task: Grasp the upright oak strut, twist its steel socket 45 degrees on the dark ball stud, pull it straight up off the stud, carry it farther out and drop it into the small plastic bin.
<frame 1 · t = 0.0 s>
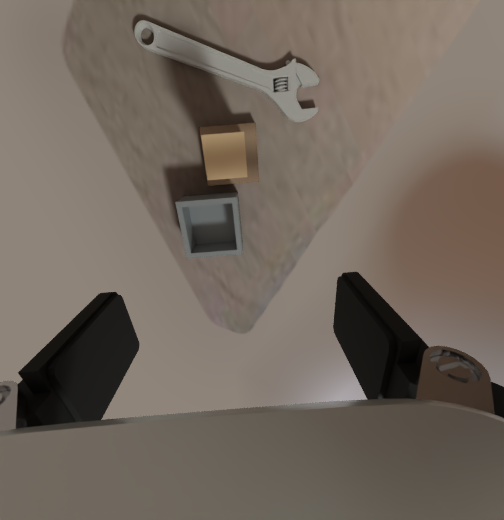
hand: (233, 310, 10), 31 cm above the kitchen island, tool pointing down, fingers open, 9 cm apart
adjustable wrench: (236, 66, 32), on the kitchen island
stud plate: (231, 155, 36), on the kitchen island
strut: (230, 155, 35), point 1 cm above the kitchen island, touching stud plate
bin: (214, 220, 40), on the kitchen island
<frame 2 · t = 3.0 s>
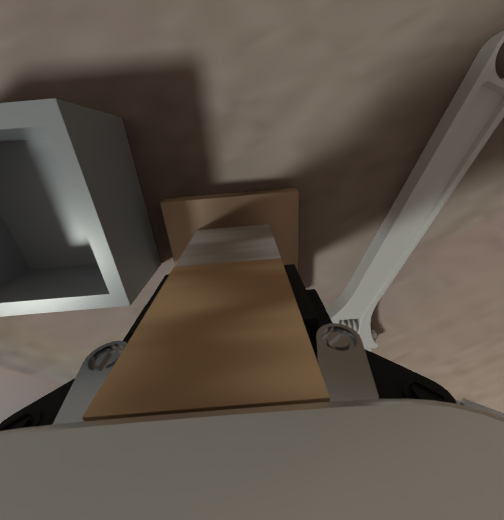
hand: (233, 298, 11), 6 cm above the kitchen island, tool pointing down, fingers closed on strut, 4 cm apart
adjustable wrench: (385, 251, 17), on the kitchen island
stud plate: (237, 251, 16), on the kitchen island
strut: (236, 259, 15), point 2 cm above the kitchen island, touching gripper, stud plate
bin: (73, 206, 15), on the kitchen island
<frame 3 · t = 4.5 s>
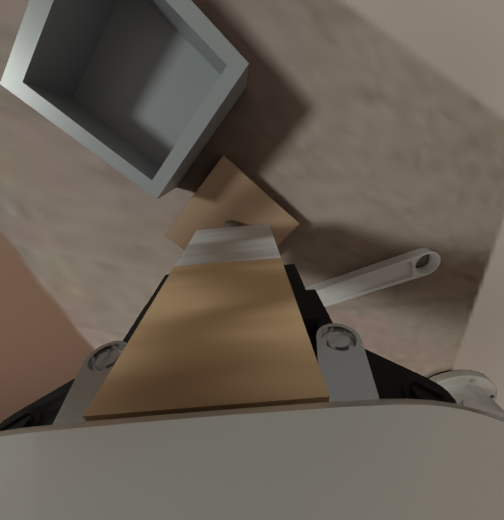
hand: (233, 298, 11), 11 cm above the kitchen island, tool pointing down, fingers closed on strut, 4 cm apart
adjustable wrench: (308, 297, 25), on the kitchen island
stud plate: (232, 224, 21), on the kitchen island
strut: (236, 259, 15), point 7 cm above the kitchen island, touching gripper
bin: (156, 94, 16), on the kitchen island
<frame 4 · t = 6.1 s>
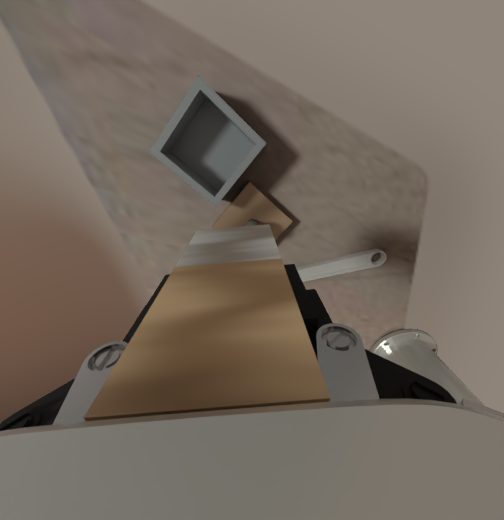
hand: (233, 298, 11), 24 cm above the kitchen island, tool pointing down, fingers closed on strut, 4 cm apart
adjustable wrench: (302, 274, 38), on the kitchen island
stud plate: (252, 221, 34), on the kitchen island
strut: (236, 260, 15), point 19 cm above the kitchen island, touching gripper
bin: (213, 148, 30), on the kitchen island
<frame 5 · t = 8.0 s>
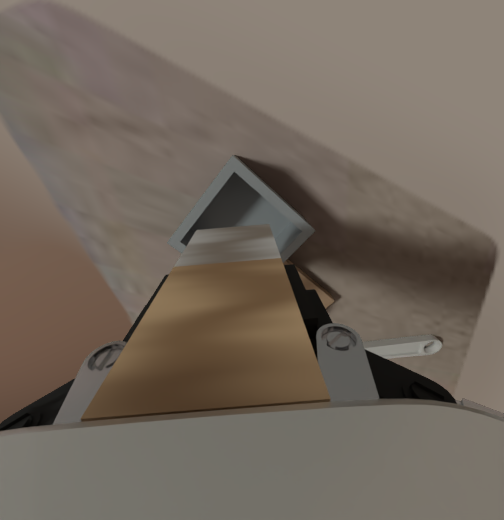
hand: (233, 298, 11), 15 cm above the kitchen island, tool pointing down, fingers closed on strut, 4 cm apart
adjustable wrench: (340, 350, 33), on the kitchen island
stud plate: (284, 297, 28), on the kitchen island
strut: (236, 259, 15), point 10 cm above the kitchen island, touching gripper
bin: (241, 221, 24), on the kitchen island
when the fingers open (7 cm above the kitchen island, at t = 9.4 s): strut drops 2 cm, resting on bin.
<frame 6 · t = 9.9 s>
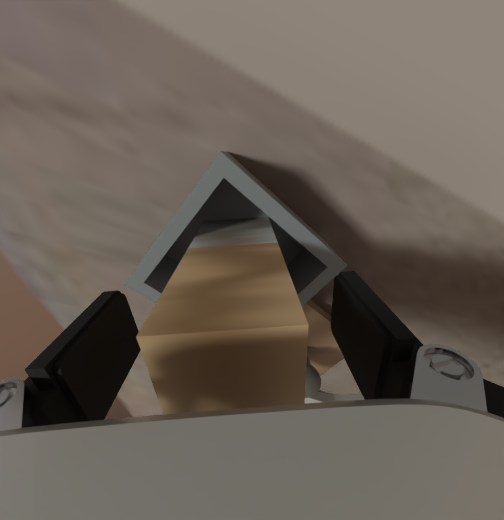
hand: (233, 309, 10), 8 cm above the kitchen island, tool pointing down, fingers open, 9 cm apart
adjustable wrench: (364, 399, 27), on the kitchen island
stud plate: (293, 338, 22), on the kitchen island
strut: (238, 248, 17), point 1 cm above the kitchen island, touching bin
bin: (237, 243, 18), on the kitchen island
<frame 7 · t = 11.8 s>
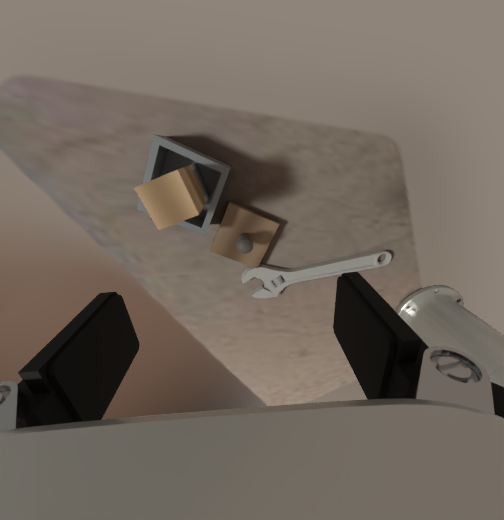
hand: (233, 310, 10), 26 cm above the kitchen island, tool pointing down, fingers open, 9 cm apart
adjustable wrench: (312, 271, 41), on the kitchen island
stud plate: (243, 234, 37), on the kitchen island
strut: (189, 185, 32), point 1 cm above the kitchen island, touching bin
bin: (189, 184, 33), on the kitchen island
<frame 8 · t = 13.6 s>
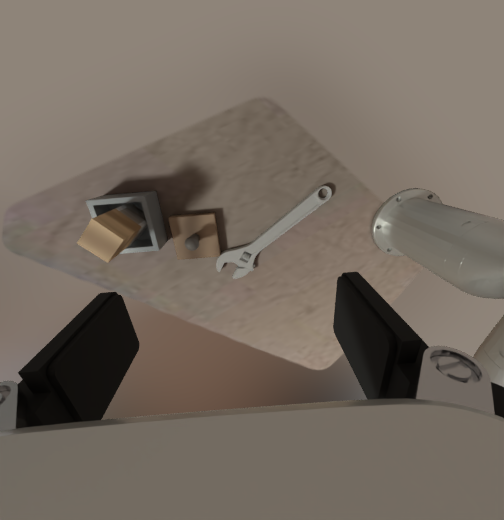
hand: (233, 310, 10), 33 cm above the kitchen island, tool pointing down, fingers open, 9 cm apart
adjustable wrench: (272, 235, 45), on the kitchen island
stud plate: (196, 235, 43), on the kitchen island
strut: (135, 219, 41), point 1 cm above the kitchen island, touching bin
bin: (137, 218, 42), on the kitchen island
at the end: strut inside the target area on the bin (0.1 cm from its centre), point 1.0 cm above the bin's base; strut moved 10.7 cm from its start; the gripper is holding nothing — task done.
